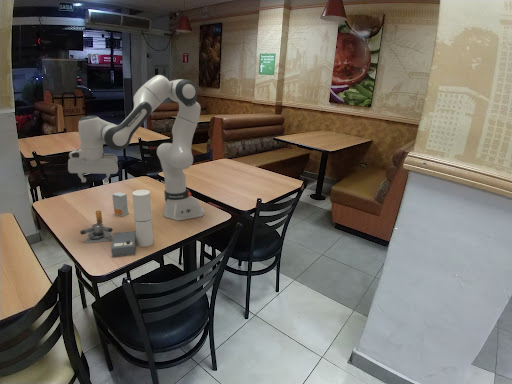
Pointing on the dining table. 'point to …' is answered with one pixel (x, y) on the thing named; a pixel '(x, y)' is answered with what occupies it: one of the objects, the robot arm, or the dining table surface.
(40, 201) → the dining table surface
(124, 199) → the skincare box
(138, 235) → the cylindrical container
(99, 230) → the capstan
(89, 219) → the dining table surface
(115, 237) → the stand
